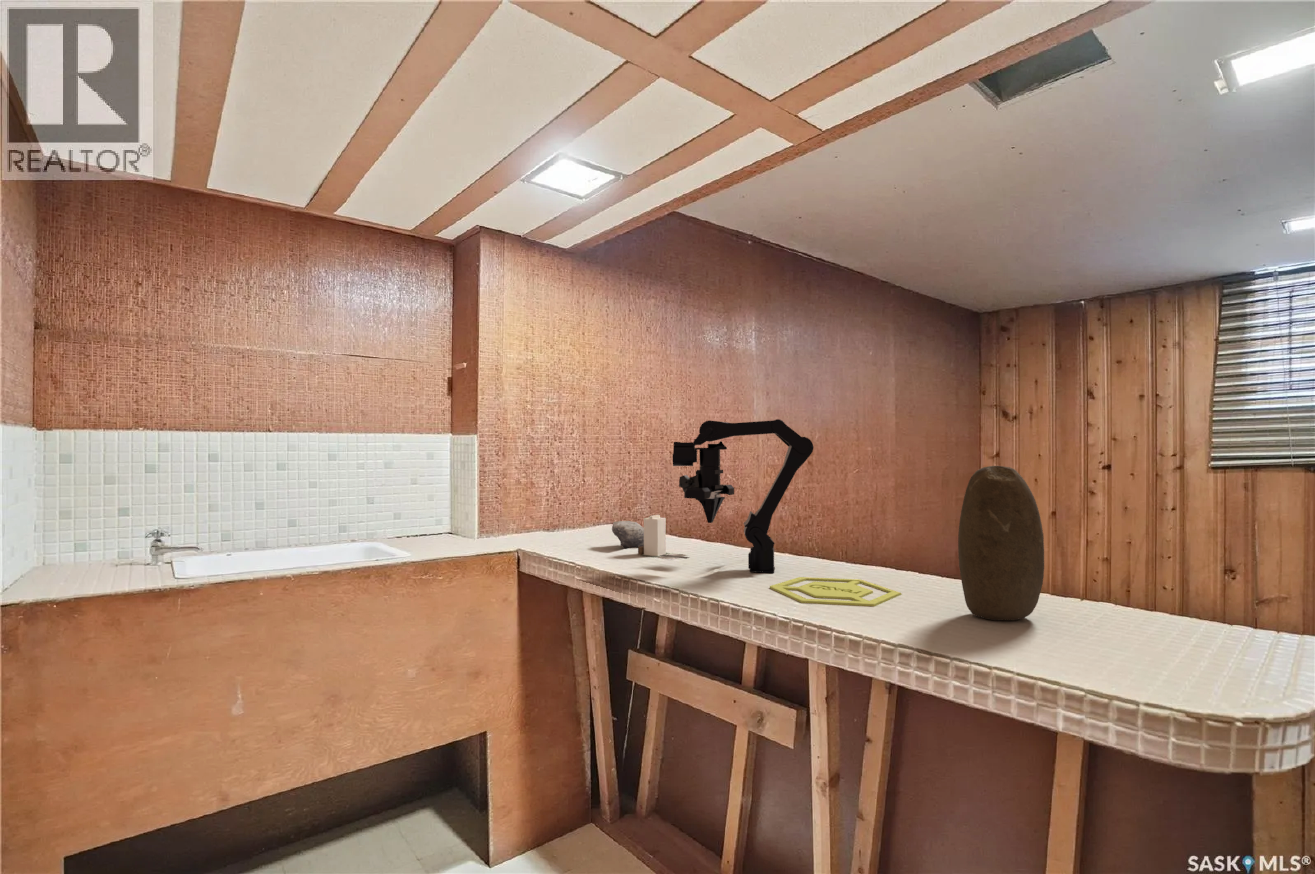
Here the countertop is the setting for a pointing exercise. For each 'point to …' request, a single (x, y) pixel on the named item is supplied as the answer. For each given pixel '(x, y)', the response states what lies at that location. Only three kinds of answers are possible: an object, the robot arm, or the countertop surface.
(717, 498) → the robot arm
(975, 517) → the stone
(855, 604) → the logo
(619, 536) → the rock
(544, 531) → the countertop surface
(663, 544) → the white rectangular block
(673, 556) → the switch board
